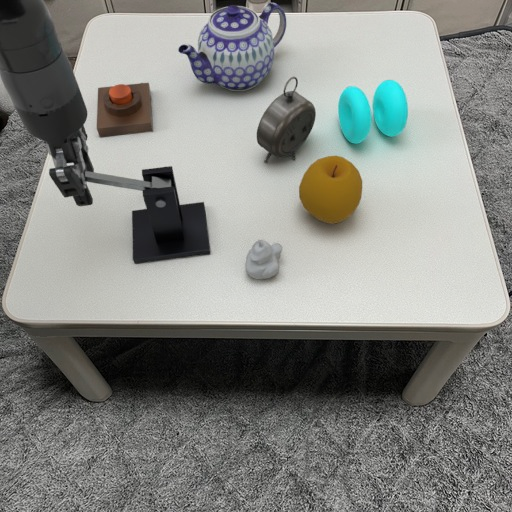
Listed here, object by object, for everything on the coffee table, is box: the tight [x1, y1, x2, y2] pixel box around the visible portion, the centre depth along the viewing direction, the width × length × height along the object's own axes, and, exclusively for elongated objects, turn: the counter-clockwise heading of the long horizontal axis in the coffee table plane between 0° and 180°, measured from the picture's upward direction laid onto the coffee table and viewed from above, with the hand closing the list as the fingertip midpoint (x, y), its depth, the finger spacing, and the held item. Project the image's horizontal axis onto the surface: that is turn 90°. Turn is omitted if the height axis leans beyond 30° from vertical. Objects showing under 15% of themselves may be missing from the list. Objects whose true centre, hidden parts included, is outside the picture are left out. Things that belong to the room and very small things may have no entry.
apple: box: [298, 155, 363, 224], centre depth 81 cm, size 10×10×12 cm
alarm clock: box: [256, 76, 317, 164], centre depth 87 cm, size 11×5×16 cm, turn 135°
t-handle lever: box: [76, 160, 171, 192], centre depth 73 cm, size 13×5×2 cm, turn 98°
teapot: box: [177, 2, 287, 92], centre depth 101 cm, size 25×15×15 cm, turn 125°
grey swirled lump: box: [245, 239, 283, 280], centre depth 77 cm, size 5×7×8 cm
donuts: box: [337, 79, 409, 144], centre depth 93 cm, size 10×10×10 cm
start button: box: [109, 83, 132, 105], centre depth 97 cm, size 4×4×2 cm
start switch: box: [96, 82, 154, 138], centre depth 99 cm, size 10×12×4 cm
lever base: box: [131, 165, 211, 265], centre depth 79 cm, size 12×10×13 cm
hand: (86, 188), depth 73 cm, fingers closed on t-handle lever, 5 cm apart
